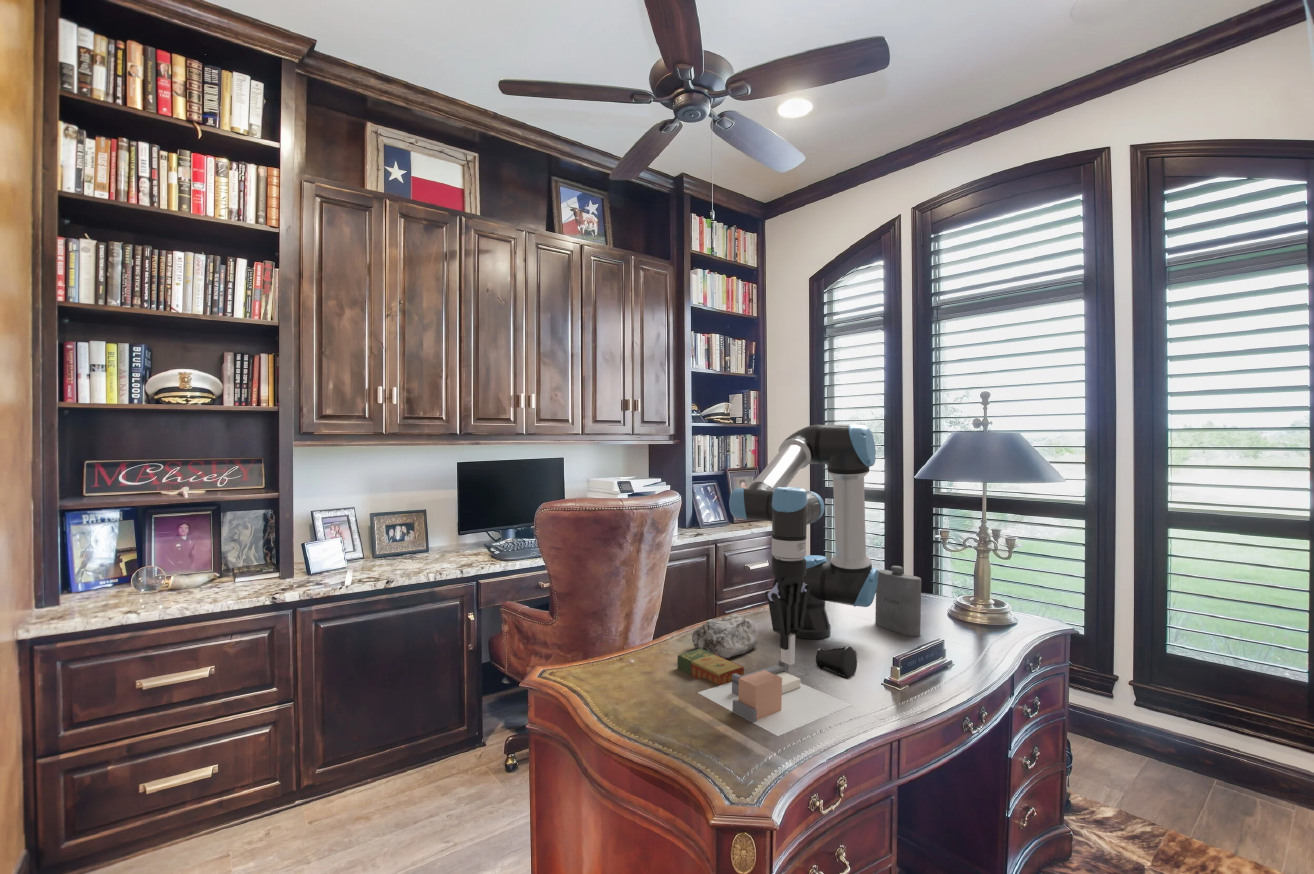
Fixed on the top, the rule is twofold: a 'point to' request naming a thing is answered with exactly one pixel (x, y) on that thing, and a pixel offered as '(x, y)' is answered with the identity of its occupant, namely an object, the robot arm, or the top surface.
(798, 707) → the board
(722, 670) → the carton
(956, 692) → the top surface
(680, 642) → the top surface
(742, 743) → the top surface
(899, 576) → the flask
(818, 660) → the black tapered cylinder
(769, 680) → the block
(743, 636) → the decorative stone
